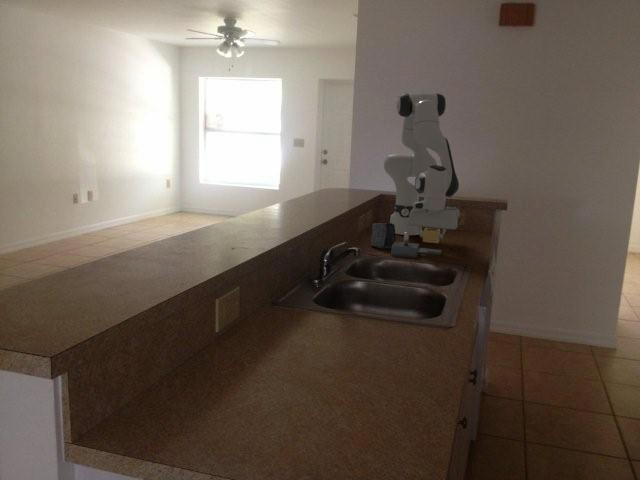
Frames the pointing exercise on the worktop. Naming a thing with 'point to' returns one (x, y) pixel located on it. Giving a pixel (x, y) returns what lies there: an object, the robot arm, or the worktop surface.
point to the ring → (431, 235)
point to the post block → (405, 248)
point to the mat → (429, 251)
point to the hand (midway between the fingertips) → (431, 238)
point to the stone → (383, 235)
